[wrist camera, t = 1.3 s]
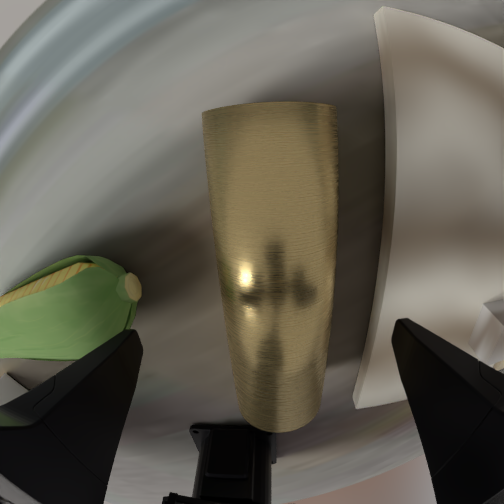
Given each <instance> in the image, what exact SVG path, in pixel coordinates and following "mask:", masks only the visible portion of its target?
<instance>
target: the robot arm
mask: <svg viewBox="0 0 504 504" xmlns="http://www.w3.org/2000/svg"><path fill="white" fill-rule="evenodd" d="M391 343H392V347H393V351H394V355H395V359H396V363H397V367H398V371H399V375H400V379H401V382H402V385H403V387H404V390H405V393H406V396H407V399H408V402H409V405H410V408H411V411H412V414H413V417H414V420H415V423H416V426H417V429H418V432H419V436H420V439H421V442H422V446H423V449H424V453H425V456H426V460H427V463H428V467H429V471H430V475H431V480H432V484H433V488H434V492H435V497H436V501H437V504H504V374H503V373H501V372H499V371H497V370H495V369H493V368H492V367H490V366H488V365H487V364H485V363H483V362H482V361H480V360H479V361H478V359H477V358H475V357H473V356H472V355H470V354H468V353H467V352H465V351H463V350H462V349H460V348H458V347H457V346H455V345H453V344H451V343H450V342H448V341H446V340H445V339H443V338H441V337H440V336H438V335H436V334H435V333H433V332H431V331H429V330H428V329H426V328H424V327H423V326H421V325H419V324H417V323H416V322H414V321H412V320H411V319H409V318H401V319H397V320H396V322H395V325H394V329H393V333H392V337H391ZM142 356H143V347H142V344H141V341H140V338H139V335H138V333H137V331H136V330H134V329H125V330H123V331H122V332H120V333H118V334H117V335H115V336H114V337H112V338H111V339H109V340H108V341H106V342H105V343H103V344H102V345H100V346H98V347H97V348H95V349H94V350H92V351H91V352H89V353H88V354H86V355H85V356H83V357H82V358H80V359H79V360H77V361H75V362H74V363H72V364H71V365H69V366H68V367H66V368H65V369H63V370H62V371H60V372H59V373H57V374H56V375H54V376H52V377H51V378H49V379H48V380H46V381H45V382H43V383H42V384H40V385H38V386H37V387H35V388H33V389H31V390H30V391H28V392H26V393H24V394H22V395H20V396H19V397H17V398H15V399H13V400H11V401H9V402H7V403H6V404H3V405H1V406H0V504H103V503H104V499H105V494H106V490H107V485H108V481H109V477H110V473H111V470H112V466H113V462H114V458H115V455H116V451H117V448H118V444H119V440H120V437H121V434H122V430H123V427H124V424H125V420H126V417H127V414H128V410H129V407H130V404H131V401H132V398H133V395H134V391H135V388H136V384H137V379H138V374H139V370H140V365H141V360H142ZM189 432H190V434H191V436H192V438H193V440H194V442H195V444H196V447H197V449H198V451H199V459H198V464H197V470H196V476H195V482H194V488H193V494H192V497H187V496H181V495H178V494H177V493H172V492H170V494H169V496H167V497H163V501H162V504H271V464H275V463H276V433H275V432H267V431H264V430H261V429H258V428H256V427H234V426H208V425H191V426H190V430H189Z"/></svg>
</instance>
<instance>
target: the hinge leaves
mask: <svg viewBox="0 0 504 504" xmlns="http://www.w3.org/2000/svg"><path fill="white" fill-rule="evenodd" d="M374 21H375V27H376V33H377V40H378V47H379V54H380V63H381V72H382V83H383V96H384V113H385V193H384V211H383V225H382V236H381V246H380V255H379V264H378V272H377V279H376V286H375V293H374V299H373V305H372V311H371V316H370V322H369V327H368V332H367V337H366V342H365V347H364V351H363V356H362V360H361V364H360V368H359V373H358V377H357V380H356V384H355V388H354V392H353V395H352V397H353V401H354V404H355V408H356V409H361V408H367V407H373V406H378V405H384V404H389V403H393V402H398V401H403V400H407V396H406V393H405V390H404V387H403V385H402V382H401V379H400V375H399V371H398V367H397V363H396V359H395V355H394V351H393V347H392V343H391V337H392V333H393V329H394V325H395V322H396V320H397V319H401V318H409V319H411V320H412V321H414V322H416V323H417V324H419V325H421V326H423V327H424V328H426V329H428V330H429V331H431V332H433V333H435V334H436V335H438V336H440V337H441V338H443V339H445V340H446V341H448V342H450V343H451V344H453V345H455V346H457V347H458V348H460V349H462V350H463V351H465V352H467V353H468V354H470V355H472V356H473V357H475V358H477V359H478V361H479V360H480V361H482V362H483V363H485V364H487V365H488V366H490V367H492V368H493V367H494V369H495V370H497V371H498V370H501V369H503V368H504V48H502V47H500V46H498V45H496V44H494V43H492V42H490V41H488V40H486V39H484V38H481V37H479V36H477V35H475V34H472V33H470V32H467V31H465V30H462V29H460V28H457V27H455V26H452V25H449V24H446V23H443V22H441V21H438V20H434V19H431V18H428V17H425V16H421V15H418V14H414V13H411V12H407V11H403V10H399V9H394V8H390V7H385V6H382V7H381V8H380V9H379V10H378V11H377V12H376V13H375V14H374Z"/></svg>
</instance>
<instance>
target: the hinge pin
mask: <svg viewBox="0 0 504 504" xmlns="http://www.w3.org/2000/svg"><path fill="white" fill-rule="evenodd" d="M202 124H203V136H204V148H205V159H206V169H207V179H208V189H209V198H210V208H211V217H212V225H213V234H214V242H215V250H216V258H217V266H218V274H219V282H220V289H221V296H222V303H223V310H224V317H225V324H226V331H227V338H228V344H229V351H230V357H231V363H232V369H233V375H234V381H235V387H236V393H237V399H238V405H239V409H240V412H241V414H242V416H243V417H244V418H245V420H246V421H247V422H248V423H250V424H251V425H253V426H254V427H256V428H258V429H261V430H264V431H267V432H275V433H282V432H289V431H293V430H296V429H299V428H301V427H303V426H305V425H306V424H308V423H309V422H310V421H311V420H312V419H313V418H314V417H315V416H316V414H317V412H318V410H319V407H320V403H321V397H322V391H323V384H324V377H325V370H326V363H327V355H328V347H329V339H330V330H331V321H332V310H333V299H334V287H335V273H336V256H337V234H338V132H337V111H336V106H333V105H329V104H323V103H313V102H261V103H249V104H240V105H232V106H226V107H220V108H215V109H211V110H208V111H205V112H203V113H202Z"/></svg>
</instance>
